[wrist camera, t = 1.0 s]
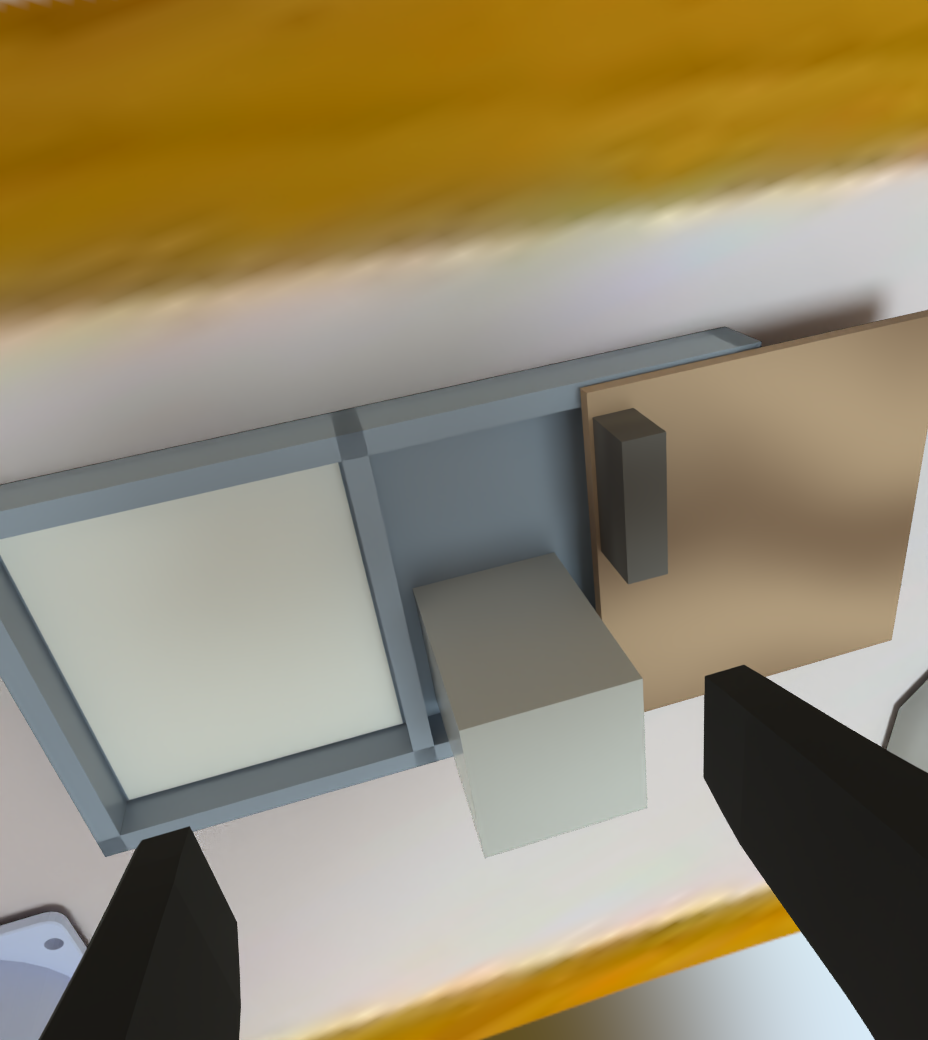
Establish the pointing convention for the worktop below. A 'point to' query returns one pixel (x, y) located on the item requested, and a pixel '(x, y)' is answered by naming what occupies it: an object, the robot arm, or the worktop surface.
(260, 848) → the worktop surface
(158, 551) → the tray
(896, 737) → the flask
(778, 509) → the door
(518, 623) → the block
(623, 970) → the worktop surface
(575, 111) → the worktop surface
